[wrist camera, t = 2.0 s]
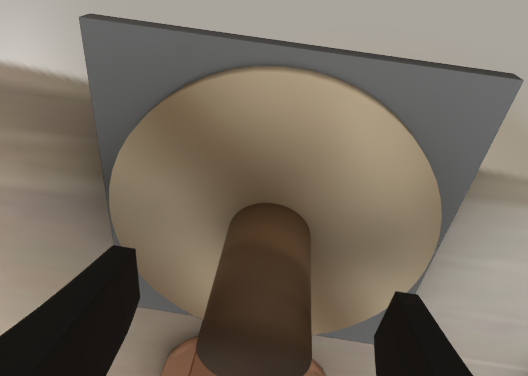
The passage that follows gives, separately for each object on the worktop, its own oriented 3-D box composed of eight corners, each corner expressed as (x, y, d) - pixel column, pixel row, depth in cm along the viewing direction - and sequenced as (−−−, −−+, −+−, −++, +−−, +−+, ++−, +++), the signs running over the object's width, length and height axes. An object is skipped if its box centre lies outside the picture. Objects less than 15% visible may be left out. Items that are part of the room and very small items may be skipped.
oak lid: (261, 350, 18) (246, 482, 13) (60, 200, 14) (-53, 319, 9) (494, 243, 13) (589, 396, 9) (289, -31, 9) (272, -5, 5)
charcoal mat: (385, 334, 17) (388, 346, 16) (128, 293, 17) (122, 304, 17) (513, 73, 10) (523, 80, 10) (89, 13, 11) (78, 17, 10)
